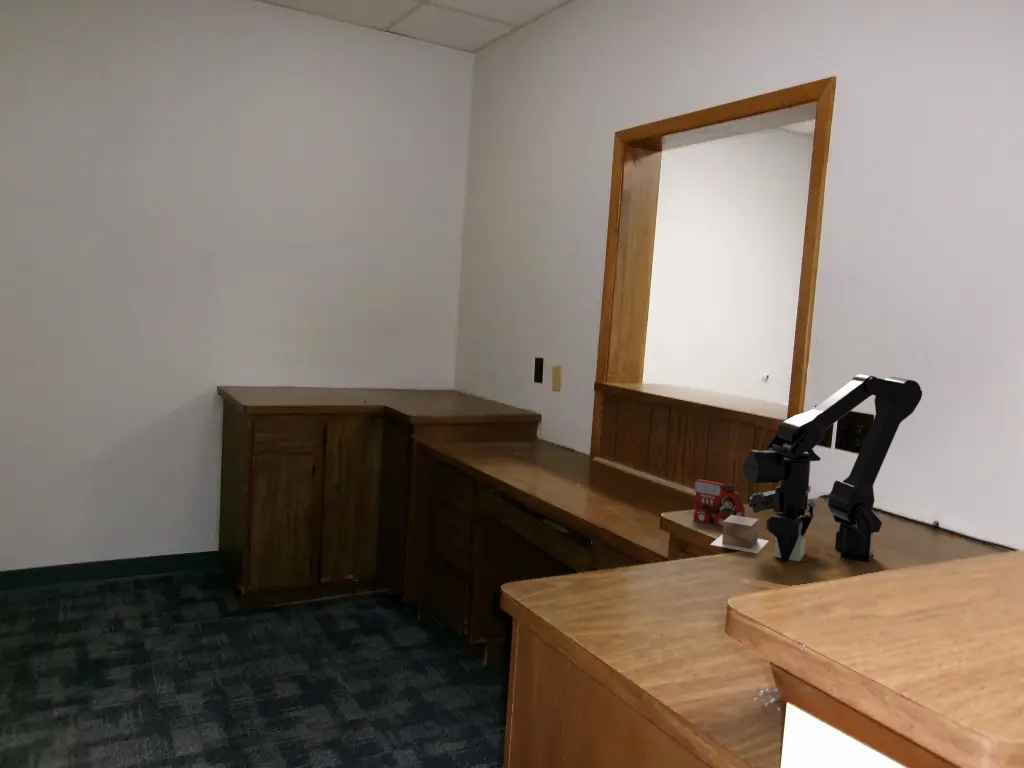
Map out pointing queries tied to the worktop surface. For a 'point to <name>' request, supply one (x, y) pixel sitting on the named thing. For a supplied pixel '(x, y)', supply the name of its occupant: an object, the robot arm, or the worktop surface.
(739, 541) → the walnut block
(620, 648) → the worktop surface
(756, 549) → the build pad
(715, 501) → the toy fire truck
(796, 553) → the sage cube
